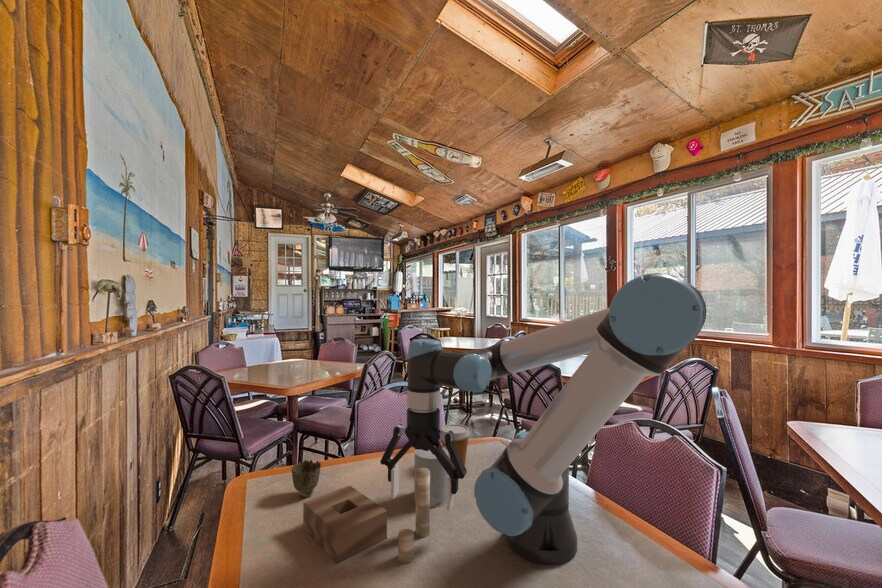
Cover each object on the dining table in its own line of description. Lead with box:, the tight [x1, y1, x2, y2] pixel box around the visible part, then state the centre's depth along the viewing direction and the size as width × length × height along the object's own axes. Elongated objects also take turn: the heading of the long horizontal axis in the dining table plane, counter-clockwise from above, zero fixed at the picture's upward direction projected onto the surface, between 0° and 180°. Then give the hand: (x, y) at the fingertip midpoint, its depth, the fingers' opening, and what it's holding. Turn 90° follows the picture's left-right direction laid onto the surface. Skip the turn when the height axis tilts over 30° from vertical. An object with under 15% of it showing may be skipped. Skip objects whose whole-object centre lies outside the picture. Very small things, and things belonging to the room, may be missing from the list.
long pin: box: [415, 468, 431, 538], centre depth 87 cm, size 3×3×14 cm
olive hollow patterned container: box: [291, 459, 322, 498], centre depth 103 cm, size 8×7×8 cm
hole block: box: [302, 485, 388, 564], centre depth 87 cm, size 16×12×6 cm
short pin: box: [397, 528, 415, 565], centre depth 78 cm, size 3×3×5 cm
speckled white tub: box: [413, 446, 450, 508], centre depth 102 cm, size 10×10×12 cm
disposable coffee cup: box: [440, 423, 471, 467], centre depth 121 cm, size 10×10×12 cm
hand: (421, 501), depth 87 cm, fingers open, 13 cm apart
